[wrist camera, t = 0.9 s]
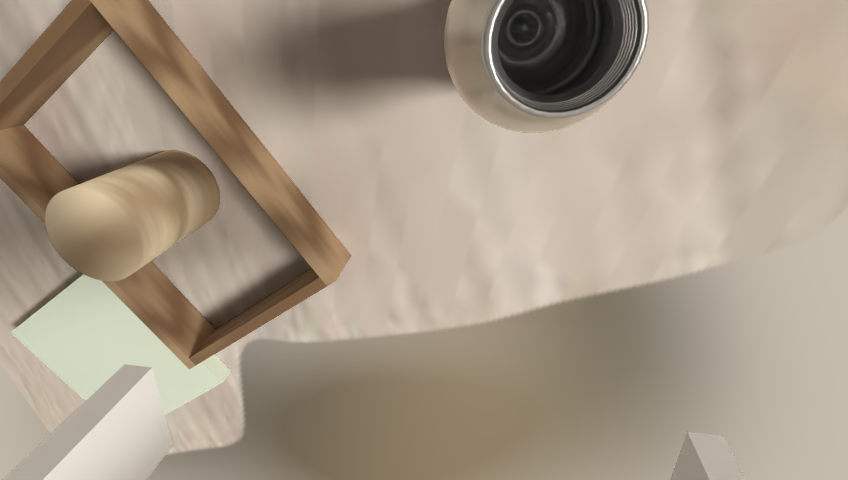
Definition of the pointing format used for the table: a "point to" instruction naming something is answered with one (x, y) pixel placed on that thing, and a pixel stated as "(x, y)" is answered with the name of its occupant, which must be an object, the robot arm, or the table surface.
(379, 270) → the table surface
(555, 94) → the plastic bottle
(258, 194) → the walnut frame
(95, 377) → the mint green tile
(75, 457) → the robot arm
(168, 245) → the light wood cylinder
